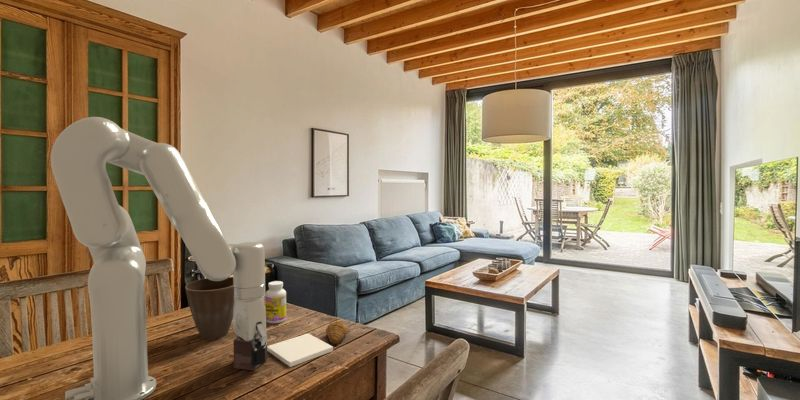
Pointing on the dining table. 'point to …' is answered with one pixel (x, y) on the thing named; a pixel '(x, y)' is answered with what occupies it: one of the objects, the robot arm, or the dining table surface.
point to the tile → (299, 349)
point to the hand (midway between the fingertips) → (250, 358)
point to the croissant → (336, 332)
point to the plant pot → (211, 306)
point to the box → (245, 354)
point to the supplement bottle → (275, 302)
